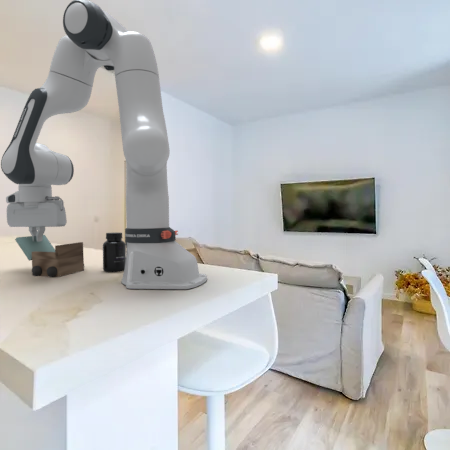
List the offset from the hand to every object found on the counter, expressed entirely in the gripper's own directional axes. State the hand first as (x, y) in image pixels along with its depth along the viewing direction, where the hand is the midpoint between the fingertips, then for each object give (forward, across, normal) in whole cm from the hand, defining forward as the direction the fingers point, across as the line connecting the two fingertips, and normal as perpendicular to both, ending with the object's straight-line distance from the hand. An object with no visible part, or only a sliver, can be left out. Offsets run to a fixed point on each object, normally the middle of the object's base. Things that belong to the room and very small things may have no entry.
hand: (37, 241), depth 97 cm
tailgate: (+4, -3, 0) cm, 5 cm away
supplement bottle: (+10, -23, -7) cm, 26 cm away
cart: (+10, -8, 0) cm, 12 cm away
